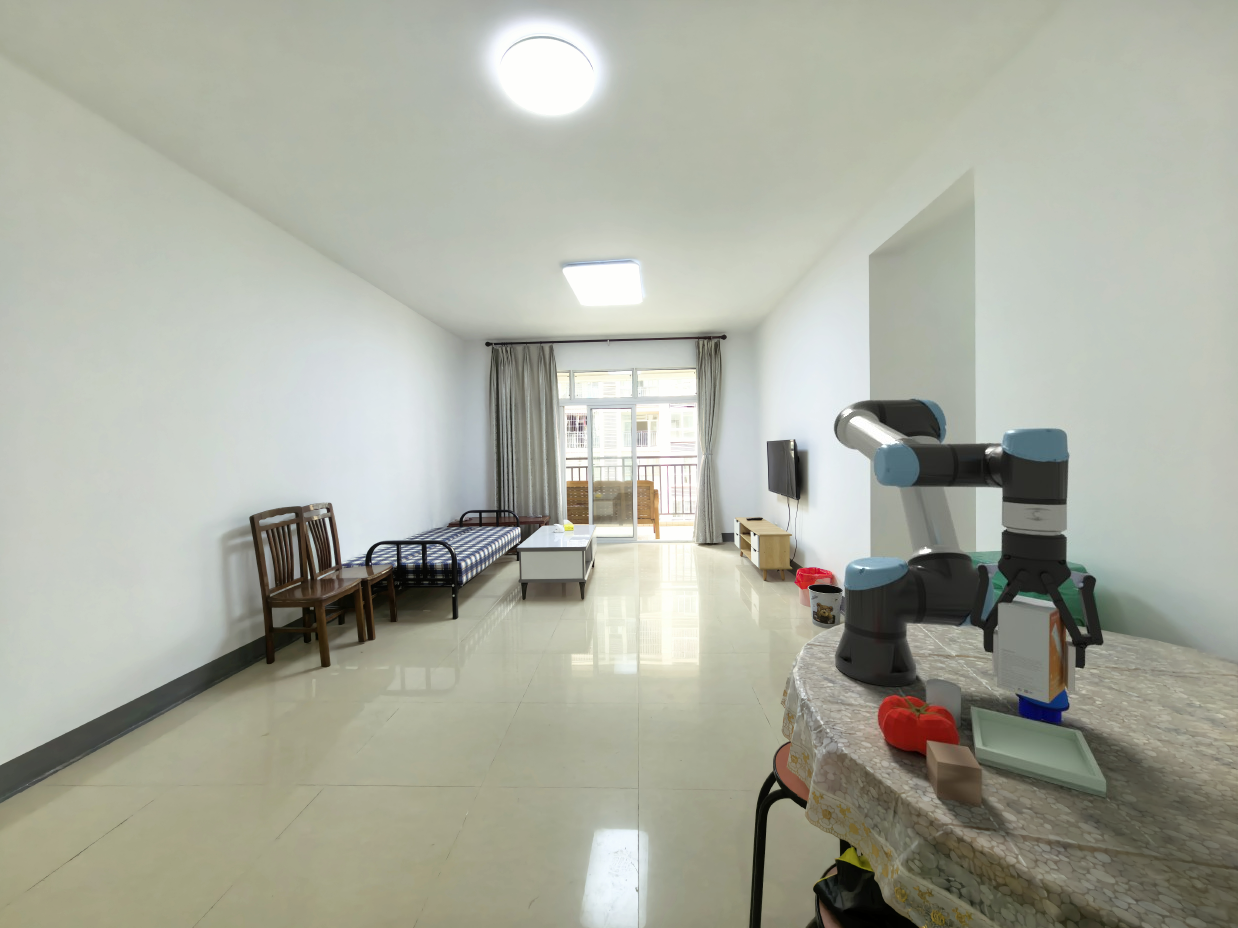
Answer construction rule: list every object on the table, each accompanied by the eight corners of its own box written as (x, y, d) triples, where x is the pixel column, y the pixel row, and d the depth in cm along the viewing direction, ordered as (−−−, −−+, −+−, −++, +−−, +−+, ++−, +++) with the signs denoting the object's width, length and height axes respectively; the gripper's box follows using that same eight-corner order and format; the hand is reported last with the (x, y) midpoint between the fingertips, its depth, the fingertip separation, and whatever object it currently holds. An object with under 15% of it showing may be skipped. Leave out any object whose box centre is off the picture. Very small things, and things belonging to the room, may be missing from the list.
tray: (975, 761, 73) (975, 746, 72) (970, 718, 84) (970, 705, 84) (1106, 797, 65) (1106, 781, 65) (1080, 744, 77) (1080, 731, 76)
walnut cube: (936, 798, 65) (937, 761, 65) (926, 774, 70) (926, 740, 70) (981, 806, 63) (981, 768, 63) (967, 781, 68) (967, 746, 68)
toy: (1056, 705, 88) (1057, 623, 88) (1085, 733, 80) (1087, 642, 79) (997, 697, 91) (998, 618, 91) (1019, 723, 83) (1021, 635, 82)
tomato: (961, 775, 70) (961, 730, 69) (874, 751, 75) (875, 709, 75) (957, 741, 78) (957, 700, 78) (879, 721, 84) (880, 683, 83)
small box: (1049, 705, 69) (1050, 613, 69) (996, 687, 74) (996, 602, 74) (1067, 689, 74) (1067, 603, 74) (1015, 674, 79) (1015, 594, 79)
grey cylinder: (925, 722, 83) (925, 687, 83) (926, 709, 87) (926, 676, 87) (961, 731, 80) (961, 695, 80) (960, 717, 85) (960, 683, 84)
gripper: (950, 528, 76) (949, 672, 77) (1139, 541, 65) (1136, 710, 65) (949, 522, 83) (948, 656, 83) (1121, 533, 71) (1119, 688, 72)
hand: (1031, 679), depth 74 cm, fingers closed on small box, 8 cm apart
